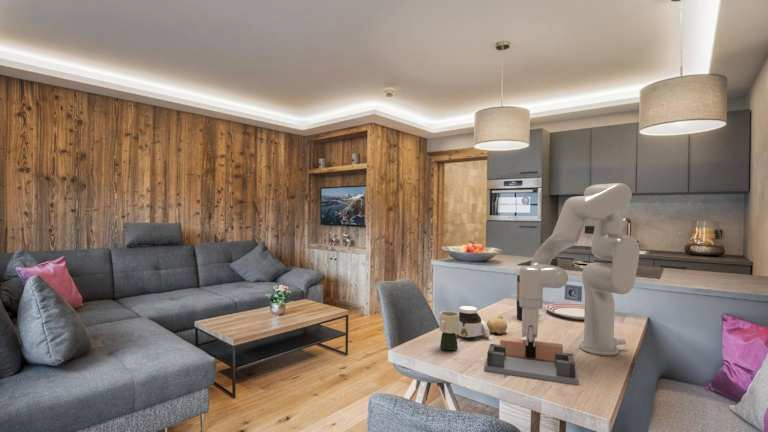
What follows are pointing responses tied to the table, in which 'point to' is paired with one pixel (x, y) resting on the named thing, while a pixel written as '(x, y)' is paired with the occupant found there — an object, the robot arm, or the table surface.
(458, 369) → the table surface
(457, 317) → the character mug
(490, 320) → the onion
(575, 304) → the dinner plate
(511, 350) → the slat
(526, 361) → the board
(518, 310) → the travel mug
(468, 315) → the spread jar
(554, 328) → the table surface
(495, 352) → the end caps
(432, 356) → the table surface
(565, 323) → the table surface
